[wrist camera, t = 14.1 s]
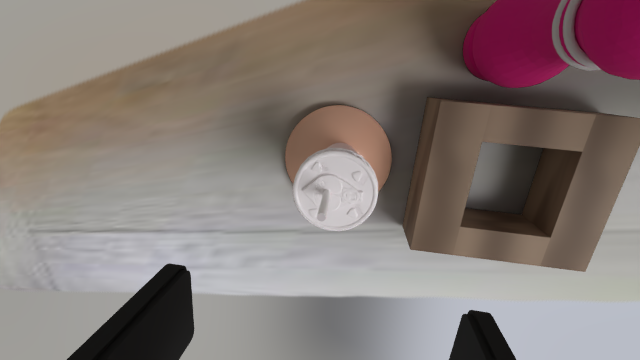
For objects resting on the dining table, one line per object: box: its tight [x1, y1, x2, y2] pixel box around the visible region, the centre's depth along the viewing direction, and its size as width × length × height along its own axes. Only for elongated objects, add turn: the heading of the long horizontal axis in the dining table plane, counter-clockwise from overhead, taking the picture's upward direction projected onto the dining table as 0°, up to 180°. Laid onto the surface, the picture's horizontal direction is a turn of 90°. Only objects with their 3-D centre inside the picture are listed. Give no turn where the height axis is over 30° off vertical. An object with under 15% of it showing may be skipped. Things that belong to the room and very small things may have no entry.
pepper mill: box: [463, 0, 640, 88], centre depth 18 cm, size 7×7×20 cm
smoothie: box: [293, 143, 378, 231], centre depth 25 cm, size 6×6×14 cm
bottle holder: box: [403, 97, 640, 272], centre depth 29 cm, size 16×14×5 cm
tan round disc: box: [285, 105, 392, 192], centre depth 32 cm, size 11×11×1 cm
